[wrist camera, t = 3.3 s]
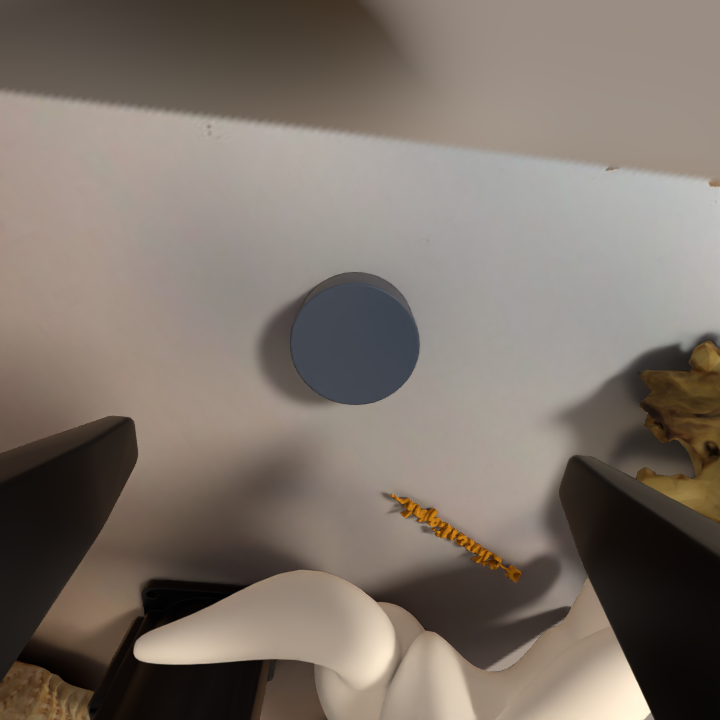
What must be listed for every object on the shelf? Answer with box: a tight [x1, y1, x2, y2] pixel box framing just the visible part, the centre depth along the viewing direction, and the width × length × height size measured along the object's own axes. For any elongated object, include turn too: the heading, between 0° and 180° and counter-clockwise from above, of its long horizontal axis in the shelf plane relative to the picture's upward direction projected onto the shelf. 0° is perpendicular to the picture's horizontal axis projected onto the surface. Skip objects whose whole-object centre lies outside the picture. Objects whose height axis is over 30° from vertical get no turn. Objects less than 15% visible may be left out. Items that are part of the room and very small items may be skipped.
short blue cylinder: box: [290, 272, 420, 405], centre depth 15 cm, size 4×4×2 cm
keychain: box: [391, 494, 521, 583], centre depth 19 cm, size 8×1×1 cm, turn 52°
